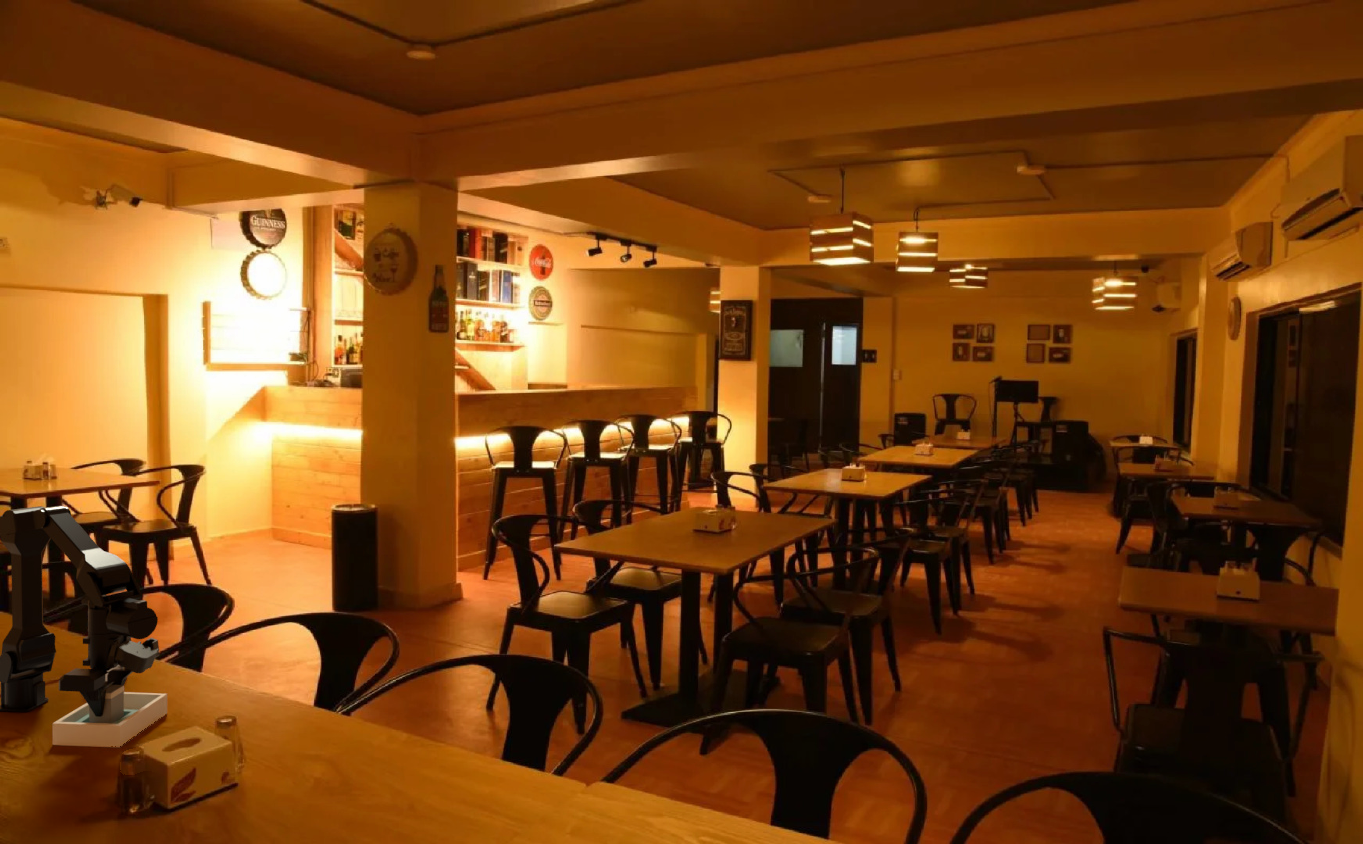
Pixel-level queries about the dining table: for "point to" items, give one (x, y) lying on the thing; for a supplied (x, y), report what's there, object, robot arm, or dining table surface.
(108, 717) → the square block
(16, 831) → the dining table surface
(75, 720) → the walled box
